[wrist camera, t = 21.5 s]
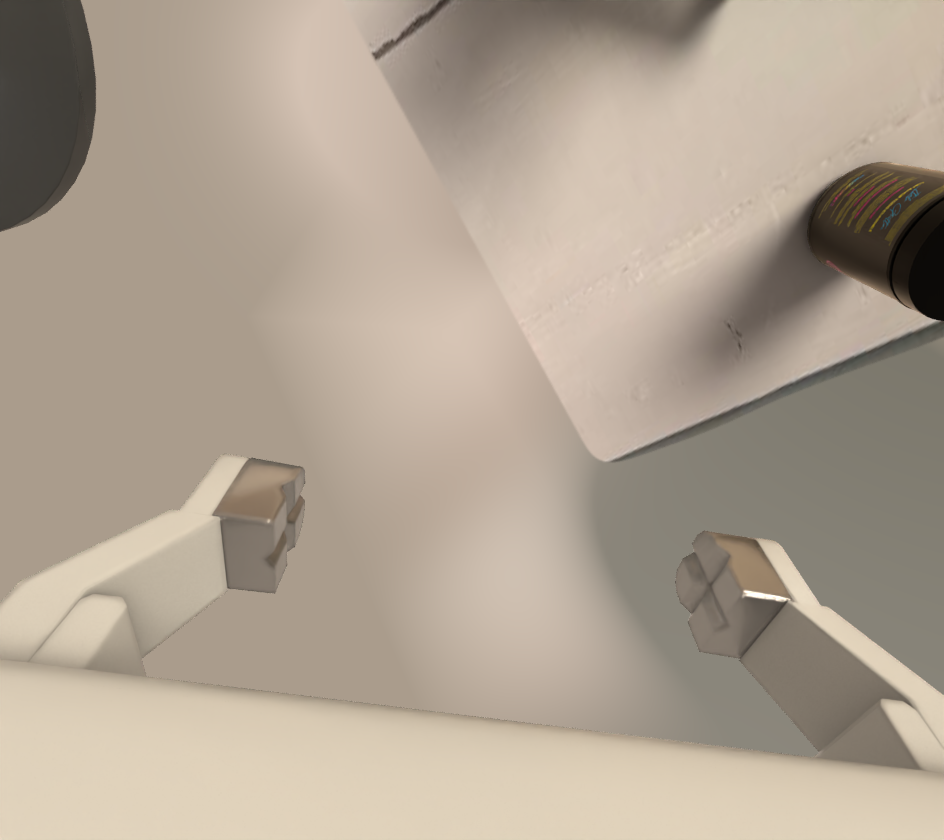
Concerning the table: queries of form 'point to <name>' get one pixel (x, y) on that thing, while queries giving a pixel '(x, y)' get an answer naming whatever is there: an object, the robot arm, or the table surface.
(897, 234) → the supplement container
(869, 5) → the table surface
